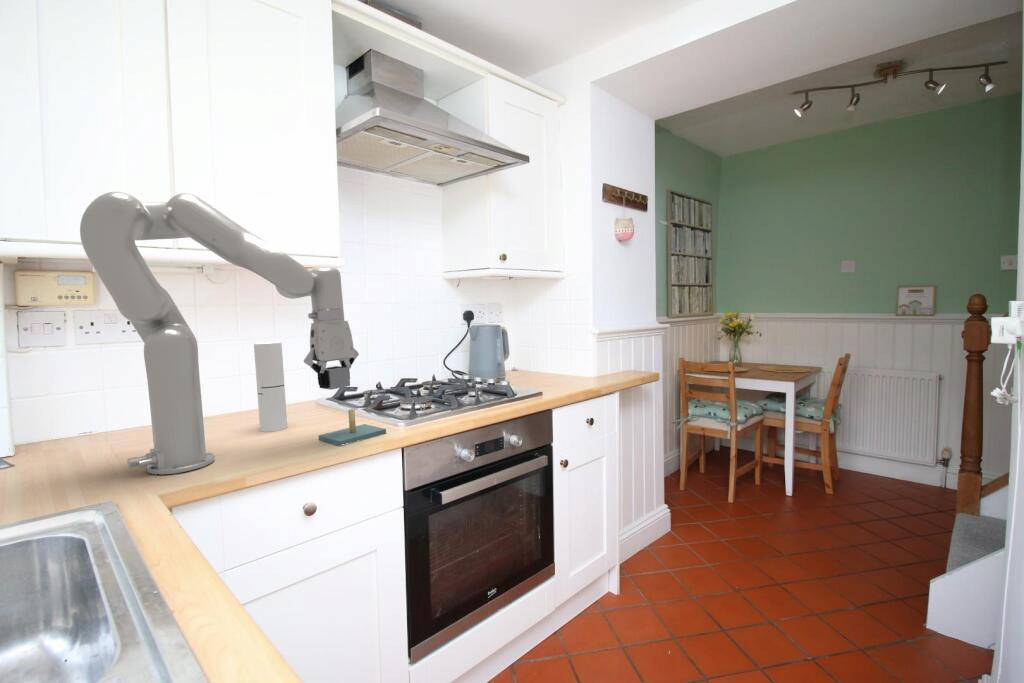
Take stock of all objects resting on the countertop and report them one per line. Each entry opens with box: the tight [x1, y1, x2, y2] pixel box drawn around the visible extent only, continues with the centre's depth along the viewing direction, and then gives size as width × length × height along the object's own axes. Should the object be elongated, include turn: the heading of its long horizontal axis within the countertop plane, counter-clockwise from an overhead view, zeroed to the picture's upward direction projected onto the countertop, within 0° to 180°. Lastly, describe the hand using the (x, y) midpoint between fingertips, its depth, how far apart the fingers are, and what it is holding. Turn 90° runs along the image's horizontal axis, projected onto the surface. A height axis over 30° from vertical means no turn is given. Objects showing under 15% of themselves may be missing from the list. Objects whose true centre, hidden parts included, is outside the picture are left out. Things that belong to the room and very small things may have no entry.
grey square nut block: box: [318, 365, 351, 391], centre depth 127 cm, size 6×6×5 cm
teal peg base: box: [318, 408, 387, 446], centre depth 130 cm, size 14×10×7 cm
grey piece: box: [253, 341, 288, 433], centre depth 140 cm, size 7×7×25 cm
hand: (334, 385), depth 127 cm, fingers closed on grey square nut block, 5 cm apart
